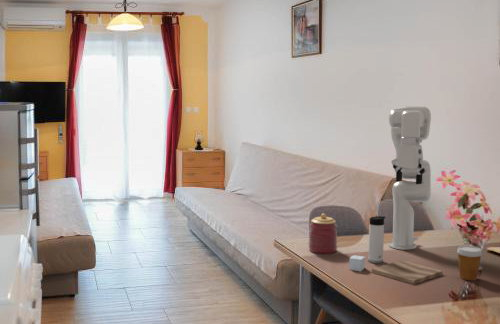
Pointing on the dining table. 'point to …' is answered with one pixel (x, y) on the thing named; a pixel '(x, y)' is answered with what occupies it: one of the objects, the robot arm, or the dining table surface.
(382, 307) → the dining table surface
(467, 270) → the disposable coffee cup
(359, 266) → the grey-blue block
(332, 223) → the canister
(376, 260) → the travel mug
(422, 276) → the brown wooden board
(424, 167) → the robot arm
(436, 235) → the dining table surface
